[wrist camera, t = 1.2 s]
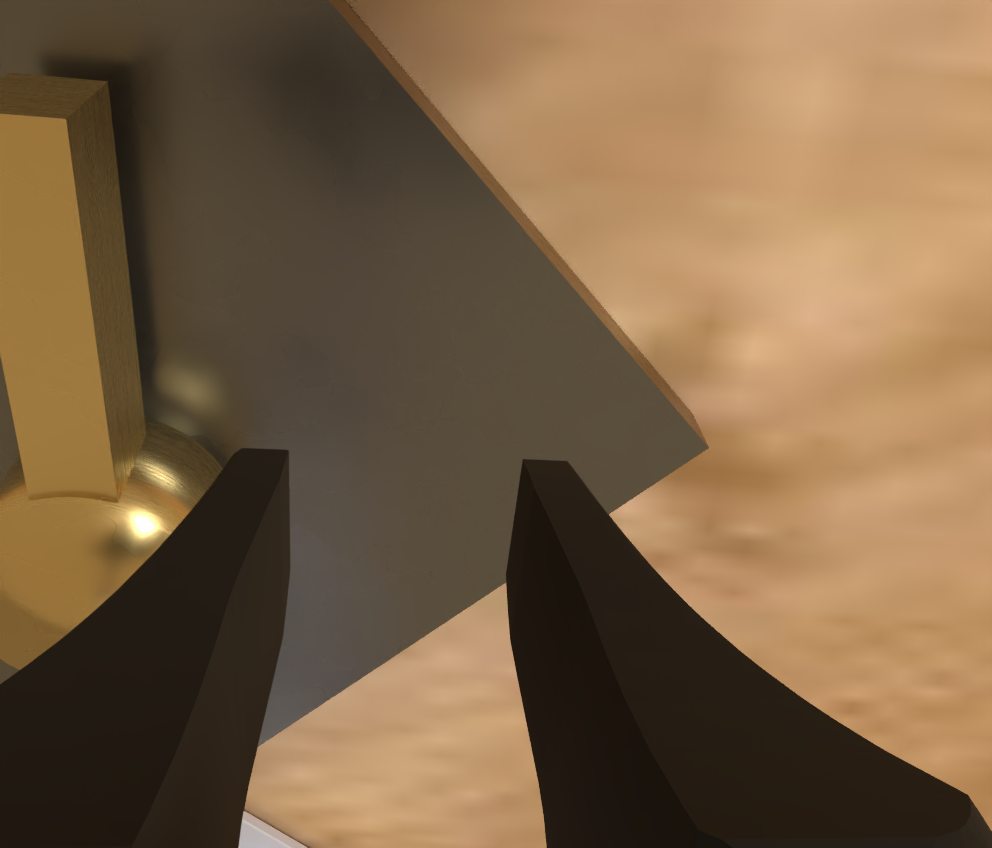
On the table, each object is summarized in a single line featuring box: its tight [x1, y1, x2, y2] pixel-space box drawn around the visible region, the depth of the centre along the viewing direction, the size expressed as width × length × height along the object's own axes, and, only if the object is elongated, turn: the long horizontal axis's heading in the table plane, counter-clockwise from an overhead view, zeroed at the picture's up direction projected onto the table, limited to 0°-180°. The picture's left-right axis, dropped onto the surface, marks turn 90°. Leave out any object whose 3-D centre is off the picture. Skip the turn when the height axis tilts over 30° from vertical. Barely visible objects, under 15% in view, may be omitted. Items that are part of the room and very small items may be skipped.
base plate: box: [0, 0, 709, 746], centre depth 21 cm, size 20×20×3 cm
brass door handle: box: [0, 73, 223, 670], centre depth 18 cm, size 12×5×3 cm, turn 174°
